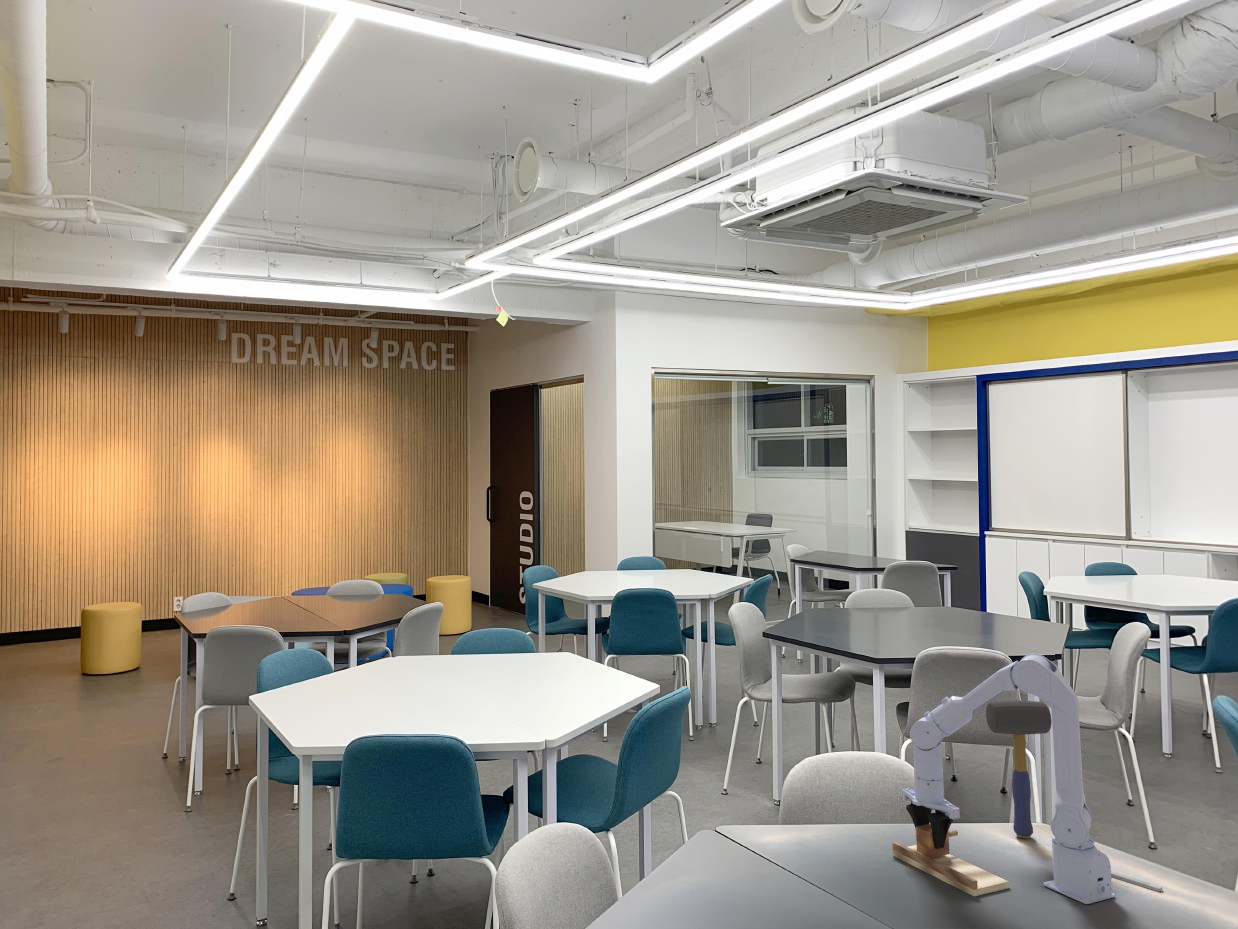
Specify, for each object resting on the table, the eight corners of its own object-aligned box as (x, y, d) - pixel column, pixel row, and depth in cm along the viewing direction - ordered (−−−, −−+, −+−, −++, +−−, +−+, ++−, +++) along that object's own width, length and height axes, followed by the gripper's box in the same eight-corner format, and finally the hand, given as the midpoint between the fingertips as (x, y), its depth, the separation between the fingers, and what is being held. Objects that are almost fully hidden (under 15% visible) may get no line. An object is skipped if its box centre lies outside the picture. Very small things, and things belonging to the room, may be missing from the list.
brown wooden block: (964, 850, 177) (963, 826, 178) (930, 858, 174) (929, 833, 174) (949, 844, 181) (948, 820, 181) (916, 851, 177) (915, 826, 178)
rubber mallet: (1001, 842, 186) (995, 703, 188) (988, 830, 194) (983, 697, 196) (1059, 843, 185) (1053, 704, 187) (1045, 831, 193) (1039, 697, 195)
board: (1009, 888, 163) (1008, 873, 163) (973, 896, 160) (973, 881, 160) (925, 848, 183) (925, 835, 183) (892, 855, 180) (892, 842, 180)
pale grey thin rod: (1092, 872, 171) (1091, 867, 171) (1094, 871, 171) (1094, 866, 172) (1159, 894, 161) (1159, 888, 161) (1162, 892, 161) (1162, 887, 161)
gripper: (889, 770, 182) (891, 835, 181) (939, 789, 169) (942, 859, 168) (915, 766, 185) (917, 830, 184) (966, 784, 172) (969, 853, 171)
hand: (931, 844), depth 176 cm, fingers closed on brown wooden block, 4 cm apart
